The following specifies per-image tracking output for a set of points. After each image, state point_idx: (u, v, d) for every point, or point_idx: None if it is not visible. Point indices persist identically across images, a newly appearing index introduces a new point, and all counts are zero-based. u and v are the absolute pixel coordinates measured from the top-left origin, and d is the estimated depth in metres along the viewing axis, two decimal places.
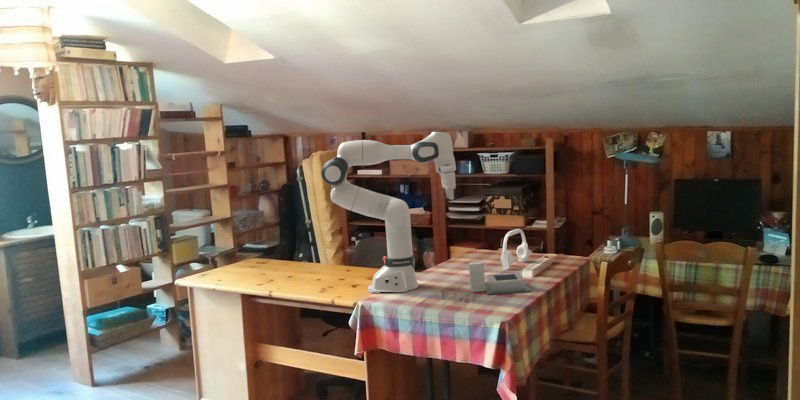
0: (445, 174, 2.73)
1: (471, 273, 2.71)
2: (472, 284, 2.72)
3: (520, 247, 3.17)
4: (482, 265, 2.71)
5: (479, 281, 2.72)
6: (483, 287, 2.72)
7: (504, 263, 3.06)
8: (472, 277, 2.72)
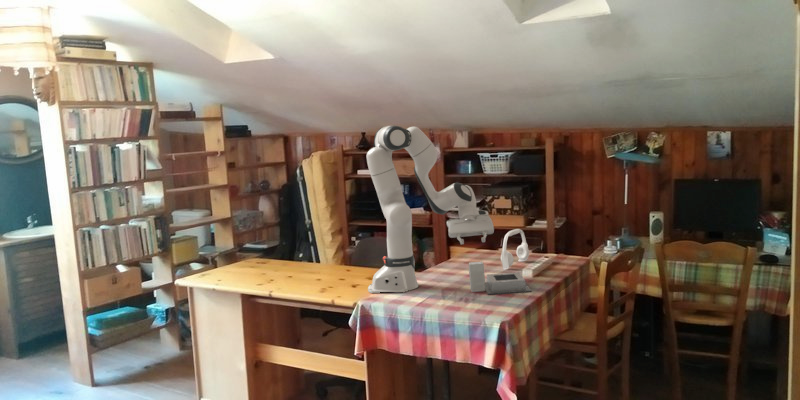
0: None
1: (471, 273, 2.71)
2: (472, 284, 2.72)
3: (520, 247, 3.17)
4: (482, 265, 2.71)
5: (479, 281, 2.72)
6: (483, 287, 2.72)
7: (504, 263, 3.06)
8: (472, 277, 2.72)
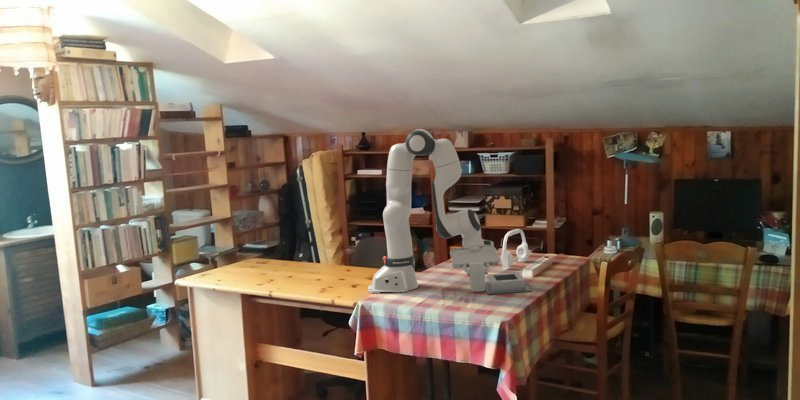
0: None
1: (471, 273, 2.71)
2: (472, 284, 2.72)
3: (520, 247, 3.17)
4: (482, 265, 2.71)
5: (479, 281, 2.72)
6: (483, 287, 2.72)
7: (504, 263, 3.06)
8: (472, 277, 2.72)
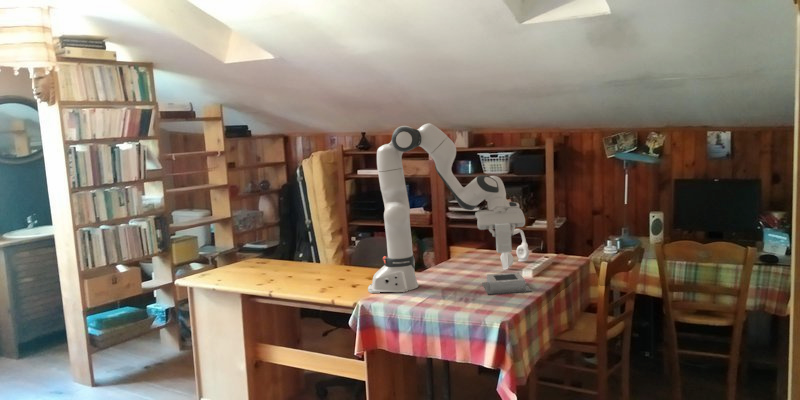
0: None
1: (498, 234, 2.70)
2: (498, 245, 2.71)
3: (520, 247, 3.17)
4: (509, 226, 2.70)
5: (505, 242, 2.71)
6: (509, 248, 2.71)
7: (504, 263, 3.06)
8: (498, 238, 2.71)
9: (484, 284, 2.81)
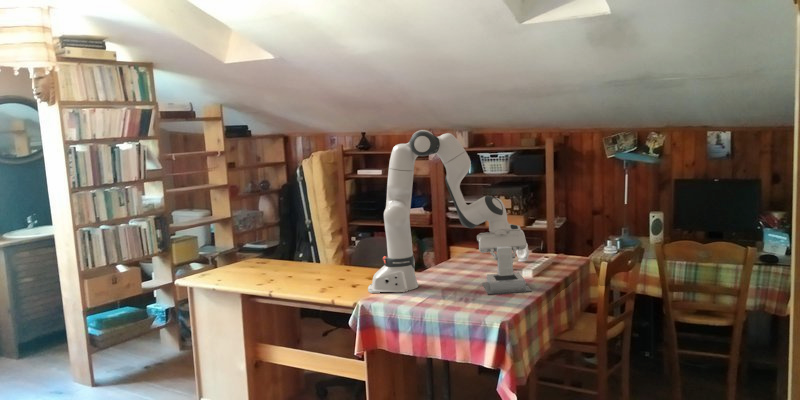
0: None
1: (499, 257, 2.72)
2: (500, 268, 2.72)
3: None
4: (510, 249, 2.71)
5: (507, 265, 2.72)
6: (511, 271, 2.72)
7: None
8: (500, 261, 2.72)
9: (484, 284, 2.81)
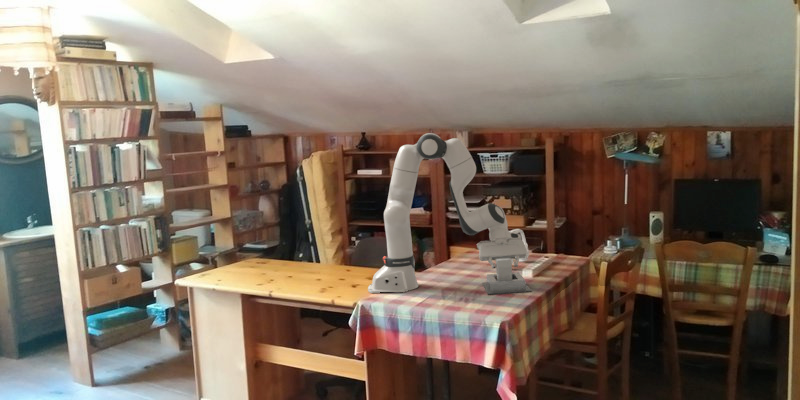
0: None
1: (498, 269, 2.72)
2: (499, 280, 2.73)
3: None
4: (509, 261, 2.72)
5: (506, 277, 2.73)
6: None
7: None
8: (499, 273, 2.72)
9: (484, 284, 2.81)
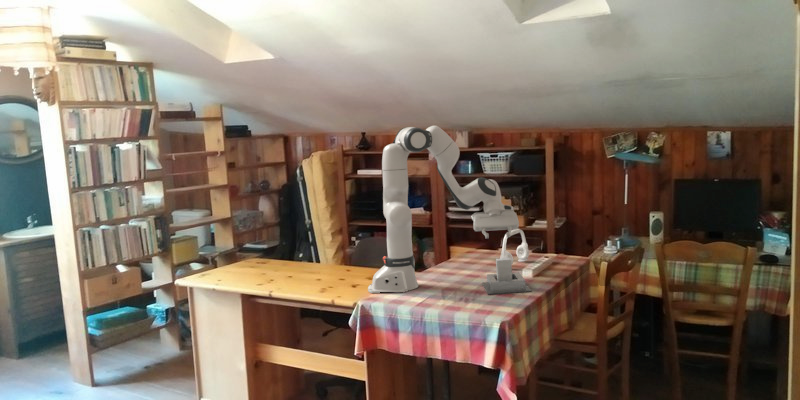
0: None
1: (498, 269, 2.72)
2: (499, 280, 2.73)
3: (520, 247, 3.17)
4: (509, 261, 2.72)
5: (506, 277, 2.73)
6: None
7: None
8: (499, 273, 2.73)
9: (484, 284, 2.81)
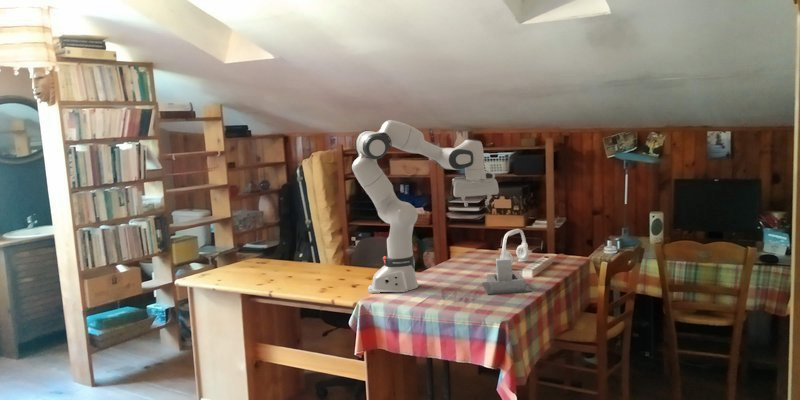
0: (495, 179, 2.89)
1: (498, 269, 2.72)
2: (499, 280, 2.73)
3: (520, 247, 3.18)
4: (509, 261, 2.72)
5: (506, 277, 2.73)
6: None
7: None
8: (499, 273, 2.73)
9: (484, 284, 2.81)
